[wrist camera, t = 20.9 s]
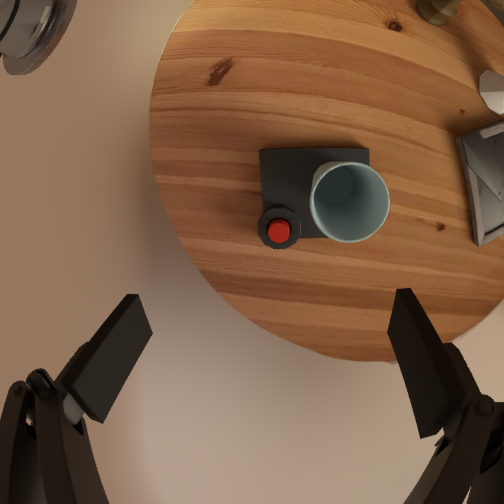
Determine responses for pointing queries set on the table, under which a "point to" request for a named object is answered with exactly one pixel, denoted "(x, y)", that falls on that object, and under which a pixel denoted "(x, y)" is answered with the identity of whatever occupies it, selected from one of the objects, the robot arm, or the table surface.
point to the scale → (296, 187)
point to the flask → (492, 90)
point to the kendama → (444, 9)
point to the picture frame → (484, 179)
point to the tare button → (278, 230)
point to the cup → (348, 200)
